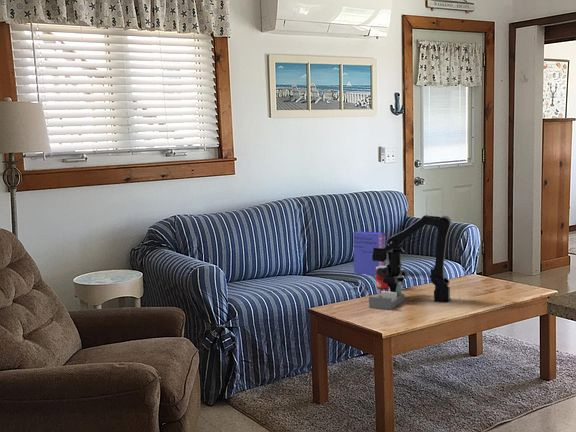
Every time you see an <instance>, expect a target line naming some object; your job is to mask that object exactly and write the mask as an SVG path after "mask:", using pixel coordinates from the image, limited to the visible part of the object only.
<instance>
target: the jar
mask: <svg viewBox="0 0 576 432" xmlns="http://www.w3.org/2000/svg"><path fill="white" fill-rule="evenodd" d="M397 282H398V285H397V288H396V292H397V297H398V296H400V295H401V294H403V293H402V286H401V284H402V285H403V283H402V282H401V281H397ZM388 292H391V291H390V288H389V289H388Z"/></svg>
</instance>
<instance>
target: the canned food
mask: <svg viewBox="0 0 576 432" xmlns="http://www.w3.org/2000/svg"><path fill="white" fill-rule="evenodd" d="M385 267H387V265H386V266H377V267H376V276H375V285H376V289H377V290H381V291H389V285H388V284H386V283H383V282H382V278H383V277H385V276H386V275H387V274H385V275H382V276H380V277H379V275H378V274H377V269H378V268H385ZM389 276H390V275H389Z"/></svg>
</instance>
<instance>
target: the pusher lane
mask: <svg viewBox="0 0 576 432" xmlns="http://www.w3.org/2000/svg"><path fill="white" fill-rule="evenodd" d="M405 300H406V299H405V293H402V294H401V295H400V296H398V297H397V298H395V299H394V300H392V298H382V297H381V293H380V294H379V295H377V296H369V297H368V308H370V309H378V310H389V311H391V310H393V309H394V308H395V307H397V306H398V305H399V304H401V303H402V302H403V301H405Z"/></svg>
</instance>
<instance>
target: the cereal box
mask: <svg viewBox="0 0 576 432" xmlns="http://www.w3.org/2000/svg"><path fill="white" fill-rule="evenodd" d="M352 235H353V236H352V239H353V272H354V273H357V274H356V275H361V274H366V275H365V276H373V277H376V267H377V266H387V262H386V261H387V260H386V261H385V262H378V261H373V259H372V255H373V248H374V247H378V248H385V246H386V232H378V231H377V232H374V231H359V230H358V231H354V232H353V233H352Z"/></svg>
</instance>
